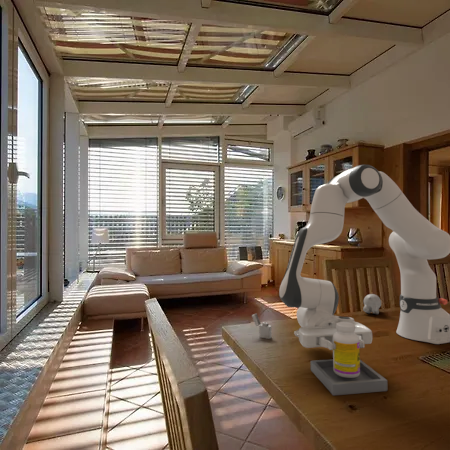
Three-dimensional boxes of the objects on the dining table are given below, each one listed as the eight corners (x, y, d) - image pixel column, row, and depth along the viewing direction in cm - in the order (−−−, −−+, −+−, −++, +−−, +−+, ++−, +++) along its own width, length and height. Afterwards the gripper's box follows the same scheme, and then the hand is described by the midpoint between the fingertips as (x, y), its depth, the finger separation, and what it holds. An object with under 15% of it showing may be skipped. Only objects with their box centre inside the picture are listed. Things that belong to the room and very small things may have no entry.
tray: (357, 366, 97) (357, 357, 97) (387, 390, 83) (387, 380, 83) (310, 370, 95) (310, 360, 95) (333, 395, 81) (333, 384, 81)
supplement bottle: (362, 379, 85) (361, 328, 85) (334, 378, 86) (333, 327, 86) (357, 369, 91) (356, 321, 92) (331, 367, 93) (330, 320, 93)
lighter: (271, 337, 122) (271, 315, 121) (269, 339, 120) (269, 316, 120) (253, 334, 125) (253, 312, 125) (251, 335, 124) (251, 313, 124)
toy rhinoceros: (383, 317, 154) (385, 299, 156) (377, 313, 145) (379, 293, 147) (367, 314, 158) (369, 296, 160) (360, 310, 149) (362, 291, 151)
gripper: (291, 320, 100) (309, 336, 86) (356, 316, 103) (383, 331, 89) (292, 341, 100) (309, 360, 87) (356, 337, 103) (383, 355, 89)
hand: (347, 346), depth 88 cm, fingers closed on supplement bottle, 6 cm apart
